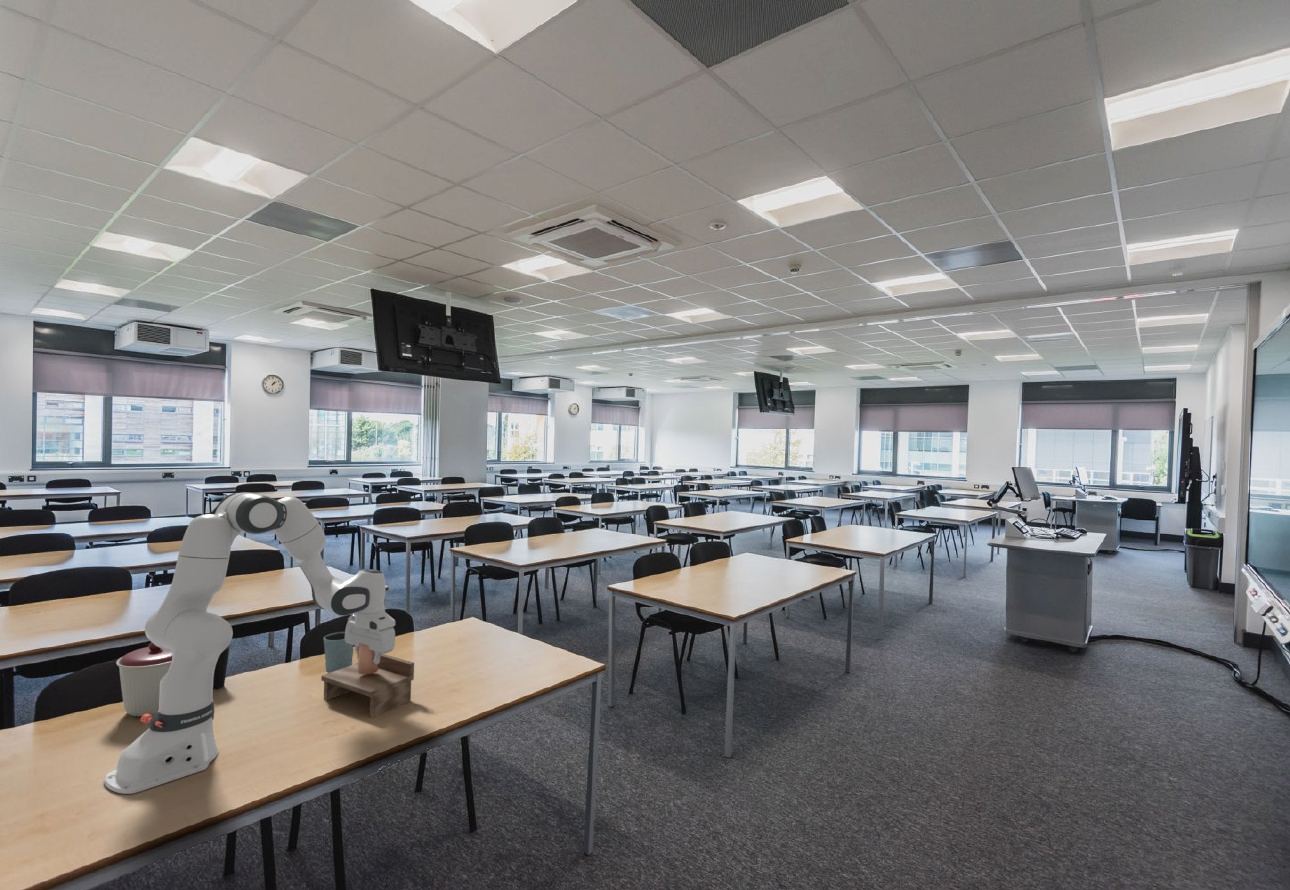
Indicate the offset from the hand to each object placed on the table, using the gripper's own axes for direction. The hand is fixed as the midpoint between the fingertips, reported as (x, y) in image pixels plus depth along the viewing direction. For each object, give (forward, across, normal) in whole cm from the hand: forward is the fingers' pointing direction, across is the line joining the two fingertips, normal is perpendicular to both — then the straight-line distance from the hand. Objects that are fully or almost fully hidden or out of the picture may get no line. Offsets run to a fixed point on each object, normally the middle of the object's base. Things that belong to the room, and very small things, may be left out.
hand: (368, 661), depth 193 cm
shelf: (+13, 0, 0) cm, 13 cm away
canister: (+13, -48, -38) cm, 63 cm away
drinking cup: (+13, -50, -20) cm, 55 cm away
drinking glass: (+13, -32, +12) cm, 37 cm away
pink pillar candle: (+3, 0, 0) cm, 3 cm away
